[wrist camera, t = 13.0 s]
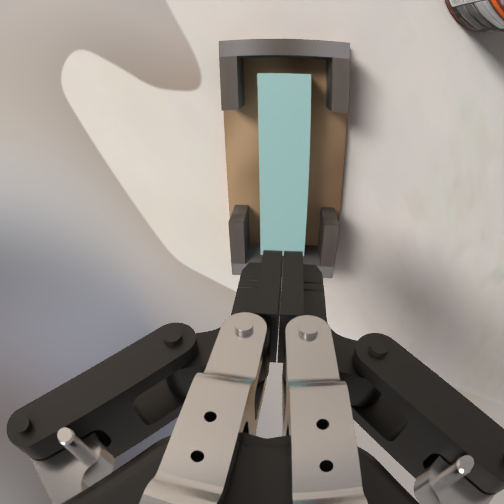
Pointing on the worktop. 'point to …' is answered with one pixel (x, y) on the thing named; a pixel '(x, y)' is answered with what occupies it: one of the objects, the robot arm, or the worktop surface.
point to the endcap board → (321, 140)
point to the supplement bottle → (478, 14)
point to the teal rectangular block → (283, 159)
